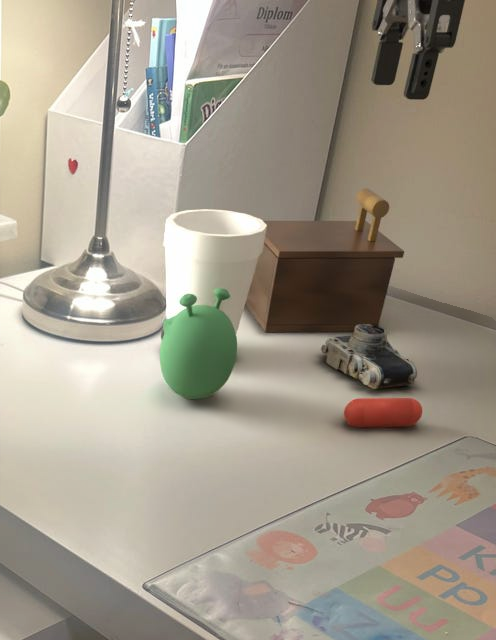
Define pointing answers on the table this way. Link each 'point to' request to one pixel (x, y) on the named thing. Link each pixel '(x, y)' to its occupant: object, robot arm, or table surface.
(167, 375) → the alien toy
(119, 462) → the table surface
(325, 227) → the bin lid
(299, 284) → the bin
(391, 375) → the camera
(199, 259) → the foam cup
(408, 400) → the red pill shape
